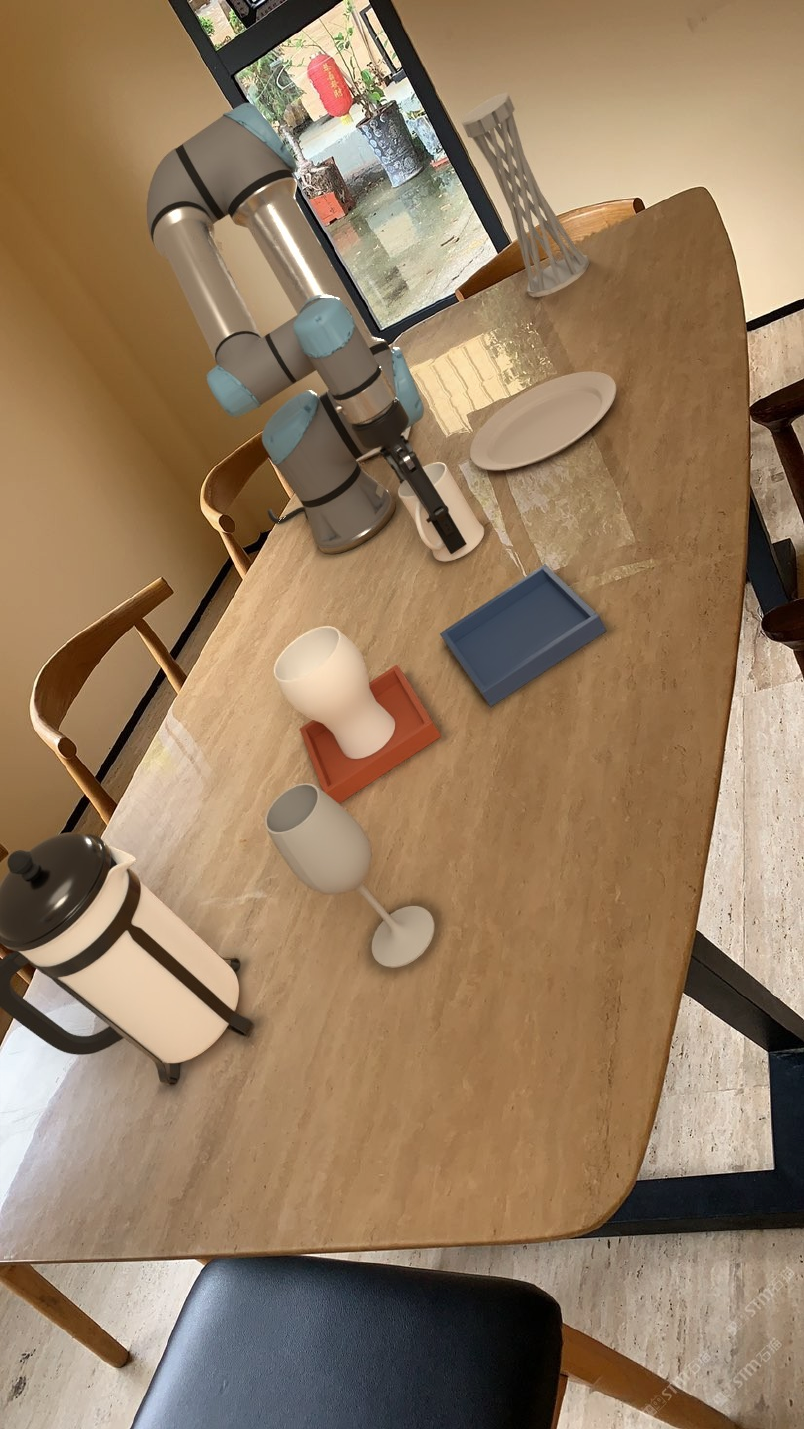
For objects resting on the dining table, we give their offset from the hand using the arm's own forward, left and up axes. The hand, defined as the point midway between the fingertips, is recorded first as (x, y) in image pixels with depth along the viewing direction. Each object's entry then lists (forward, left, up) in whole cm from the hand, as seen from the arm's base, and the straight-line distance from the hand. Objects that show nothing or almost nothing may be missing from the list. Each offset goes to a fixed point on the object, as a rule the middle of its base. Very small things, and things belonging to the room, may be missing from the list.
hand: (447, 536), depth 155 cm
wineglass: (+63, -30, -3) cm, 70 cm away
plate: (-17, +24, -3) cm, 29 cm away
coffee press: (+58, -55, -3) cm, 80 cm away
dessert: (-52, +4, -3) cm, 52 cm away
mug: (+1, 0, -3) cm, 3 cm away
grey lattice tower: (-73, +53, -3) cm, 90 cm away
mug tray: (+30, -1, -2) cm, 30 cm away
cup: (+30, -24, -2) cm, 39 cm away
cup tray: (+30, -24, -2) cm, 39 cm away
